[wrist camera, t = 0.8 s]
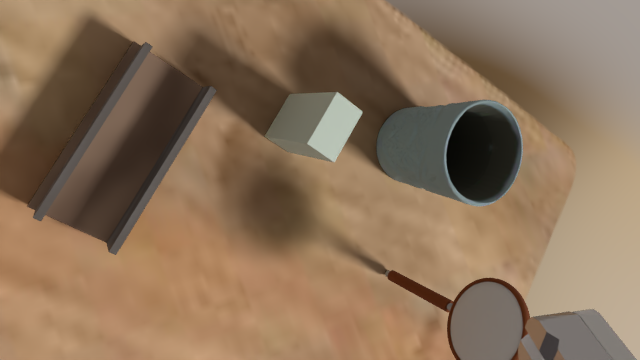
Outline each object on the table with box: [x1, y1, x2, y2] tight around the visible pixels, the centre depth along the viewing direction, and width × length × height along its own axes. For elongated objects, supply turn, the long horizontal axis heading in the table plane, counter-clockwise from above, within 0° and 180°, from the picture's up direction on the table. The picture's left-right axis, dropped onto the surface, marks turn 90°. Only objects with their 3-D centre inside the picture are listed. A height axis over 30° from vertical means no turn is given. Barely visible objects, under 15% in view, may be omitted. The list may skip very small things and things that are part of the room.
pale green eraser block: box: [264, 92, 363, 162], centre depth 45 cm, size 3×5×10 cm, turn 144°
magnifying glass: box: [385, 270, 530, 360], centre depth 49 cm, size 9×2×20 cm, turn 153°
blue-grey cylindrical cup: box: [377, 100, 523, 206], centre depth 52 cm, size 10×10×12 cm
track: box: [27, 42, 217, 255], centre depth 41 cm, size 8×16×4 cm, turn 144°
